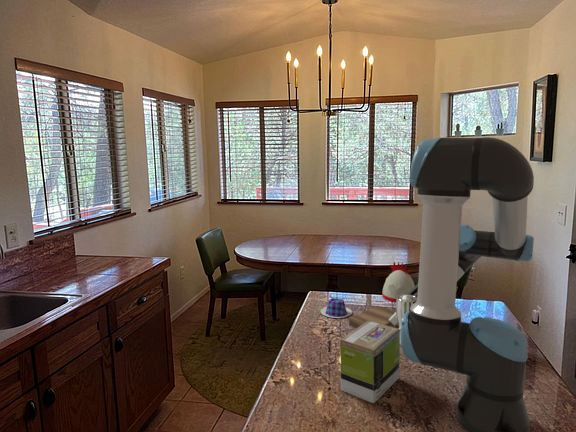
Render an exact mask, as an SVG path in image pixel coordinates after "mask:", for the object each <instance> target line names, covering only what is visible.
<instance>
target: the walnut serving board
mask: <svg viewBox="0 0 576 432" xmlns="http://www.w3.org/2000/svg"><path fill="white" fill-rule="evenodd" d="M395 312H396V311H392V310H390V309H387V308H385V307H381V306H379V305H376V306H373V307H372V308H369V309H366V310H365V311H361V312H359V313H356V314H354V315H350V316H348V325H349V327H352V328H355V329H357V328H358V327H360V326H361V325H362V324H364V323H365V322H367V321H371V322H375V323H379V324H382V325H386V326H390V327H394V328H398V325H397V324H396V325H395V326H394V325H393V324H392V323H391V322H390V321H389V319H390V318H391V317H392V316H393V314H394V313H395Z"/></svg>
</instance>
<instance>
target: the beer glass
mask: <svg viewBox="0 0 576 432" xmlns="http://www.w3.org/2000/svg"><path fill="white" fill-rule="evenodd" d="M416 301H417V297H416V296H413V295H399V296H397V302H396V303H395V312H396V319H397V325H398V327H397V328H398V329H399V328H400V327H401V326H402V318H403V315H404V314H405V313H406V312H409V311H410V307H411V305H413V304H414V303H415V302H416ZM400 346H401V336H400Z"/></svg>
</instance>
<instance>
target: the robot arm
mask: <svg viewBox="0 0 576 432" xmlns="http://www.w3.org/2000/svg"><path fill="white" fill-rule="evenodd" d="M411 159H412V160H411V163H410V164H411V165H410V171H409V178H410V179H409V183H410V185H411V187H412V188H414V189H417V193H416V194H417V195H416V196H417V198H419V199H420V201H421V202H422V205H423V207H422V218H421V219H422V220H421V221H422V223H421V236H420V253H419V267H418V268H419V270H418V282H417V284H416V285H415V287H414V288H413V289H412V290H411V291H410V292H409V293H408V294H407V295H413V296H416V297H417V301H416V302H415V303H414V304H413V305H411V307H410V311H409V312H406V313H405V314H404V315H403V318H402V326H401V327H400V328H399V329H400V336H401V345H400V347H401V349H402V353H403V354H404V357H405V358H406V359H407V360H409V361H411V362H414V363H417V364H420V365H422V366H428V367H431V368H436V369H440V370H444V371H447V372H452V373H456V374H461V375H465V376H466V383H465V385H464V388H463V391H462V392H461V395H460V396H459V398H458V401H457V404H456V413H455V414H456V419H457V421H458V422H459V423H460V425H461V426H462V427H463V428H464V429H465V430H467V431H468V432H530V427H531V421H530V417H529V414H528V413H529V412H528V409H527V406H526V402H525V400H524V392H525V391H524V389H525V381H526V380H525V379H526V378H525V377H526V367H527V365H526V364H527V361H528V357H529V354H528V340H527V338H526V336H525V334H524V333H523V332H522V331H521V330H520V329H518V328H516V326H514V325H512V324H510V323H509V322H507V321H504V320H500V319H497V318H493V317H489V316H488V317H487V316H484V317H481V316H476V317H474V318H472V319H471V320H470V322H466V321H465V322H464V321H462V312H461V311H460V310H459V309H458V308H457V306H456V299H457V298H456V297H457V284H458V283H457V282H459V280H460V279H461V278H462V277H463V275H464V274H466V273H467V272H468V270H469V269H470V268H471V267H473V265H474V264H475V263H476V262H477V261H478V260H479V259H480V258H494V259H502V260H508V261H515V262H521V261H522V262H530V261H531V260H532V259H533V253H534V240H535V238H534V236H532V235H530V234H527V220H528V219H527V218H528V215H527V214H528V197H529V195H530V194H531V193H532V192H533V189H534V179H535V177H534V172H533V169H532V166H531V163H530V162H529V161H528V159H527V158H526V156H525V155H524V154H523V153H522V152H521V151H520V150H519V149H518V148H517V147H515V146H514V145H513V144H511V143H509V142H507V141H505V140H503V139H500V138H495V137H491V136H490V137H489V136H485V137H437V138H427V139H424V140H422V141H420V143H418V145H417V147H416V149H415V151H414V153H413V156H412V158H411ZM471 191H486V192H487V193H488V195H489V196H490V197H491V200H492V214H493V215H492V216H493V227H494V231H488V230H487V231H485V230H477V229H476V230H474V229H473V228H472V227H471V226H470V225H467V224H462V214H463V213H462V212H463V205H464V204H465V203H466V202H468V200H470V199H471ZM394 312H395V313H394V314H393V316H392V317H391V318H390V319H389V321H390V322H391V323H392V324H393V325H394V326H395V325H396V324H397V319H396V311H394Z"/></svg>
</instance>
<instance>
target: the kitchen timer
mask: <svg viewBox="0 0 576 432" xmlns="http://www.w3.org/2000/svg"><path fill="white" fill-rule="evenodd" d="M392 263H393V264H389V267H390V268H391V271H392V272H391V273H390V274H389V275H388V276H387V277H386V278H385V282H384V284H383V288H382V296H381V297H382V298H383V299H384V300H386V301H388V302H391V303H395V304H396V302H397V296H399V295H407V294H408V293H409V292H410V291H411V290H412V289H413V288H414V287H415V286H416V285H415V282H414V280H413V278H412V276H411V275H410V274H409V272H410V271H411V269H410V268H409V269H408V270H407V265H405V266H404V262H402V263H401V264H400V262H397V264H396V262H395V261H394V262H392Z"/></svg>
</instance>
